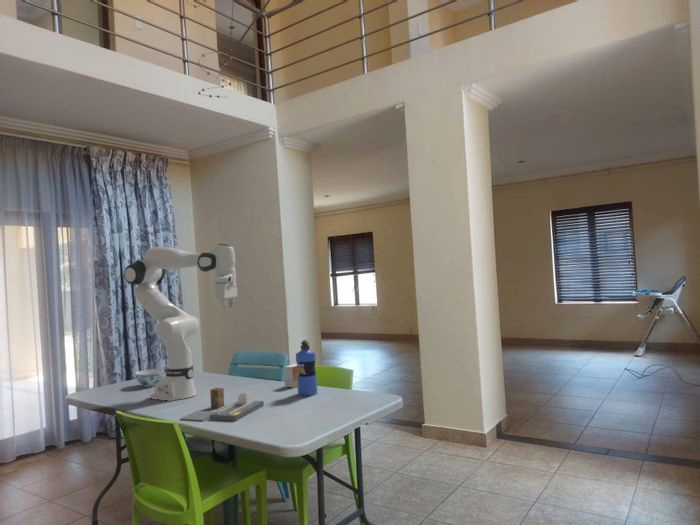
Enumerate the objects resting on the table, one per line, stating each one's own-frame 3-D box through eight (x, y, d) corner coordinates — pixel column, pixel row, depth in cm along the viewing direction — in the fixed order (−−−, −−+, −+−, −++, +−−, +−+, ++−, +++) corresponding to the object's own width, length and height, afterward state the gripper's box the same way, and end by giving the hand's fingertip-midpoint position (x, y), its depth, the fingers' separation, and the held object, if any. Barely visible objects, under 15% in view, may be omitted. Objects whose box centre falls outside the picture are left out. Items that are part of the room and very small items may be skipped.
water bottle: (308, 390, 237) (306, 338, 237) (321, 393, 230) (318, 339, 231) (293, 394, 230) (290, 341, 231) (306, 397, 224) (303, 342, 224)
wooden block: (211, 408, 214) (210, 389, 214) (216, 405, 218) (215, 387, 218) (218, 408, 213) (218, 390, 213) (224, 406, 216) (223, 388, 217)
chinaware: (170, 384, 269) (169, 370, 269) (143, 390, 258) (143, 375, 258) (156, 381, 279) (155, 367, 279) (130, 387, 267) (129, 372, 268)
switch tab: (238, 404, 209) (238, 394, 209) (243, 402, 213) (243, 391, 213) (246, 404, 208) (246, 394, 208) (251, 402, 212) (251, 392, 212)
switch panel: (209, 419, 196) (209, 412, 196) (239, 404, 217) (239, 398, 217) (235, 421, 192) (235, 413, 193) (263, 405, 213) (263, 399, 213)
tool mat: (179, 420, 198) (179, 418, 198) (197, 412, 209) (196, 410, 209) (202, 421, 195) (202, 419, 195) (219, 413, 205) (218, 411, 205)
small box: (293, 388, 243) (292, 367, 243) (284, 387, 246) (283, 366, 246) (303, 384, 250) (302, 364, 250) (294, 384, 253) (293, 363, 253)
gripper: (227, 278, 238) (228, 306, 238) (212, 279, 218) (213, 310, 217) (239, 277, 238) (241, 306, 237) (225, 278, 217) (227, 309, 217)
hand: (227, 308), depth 227 cm, fingers open, 8 cm apart
